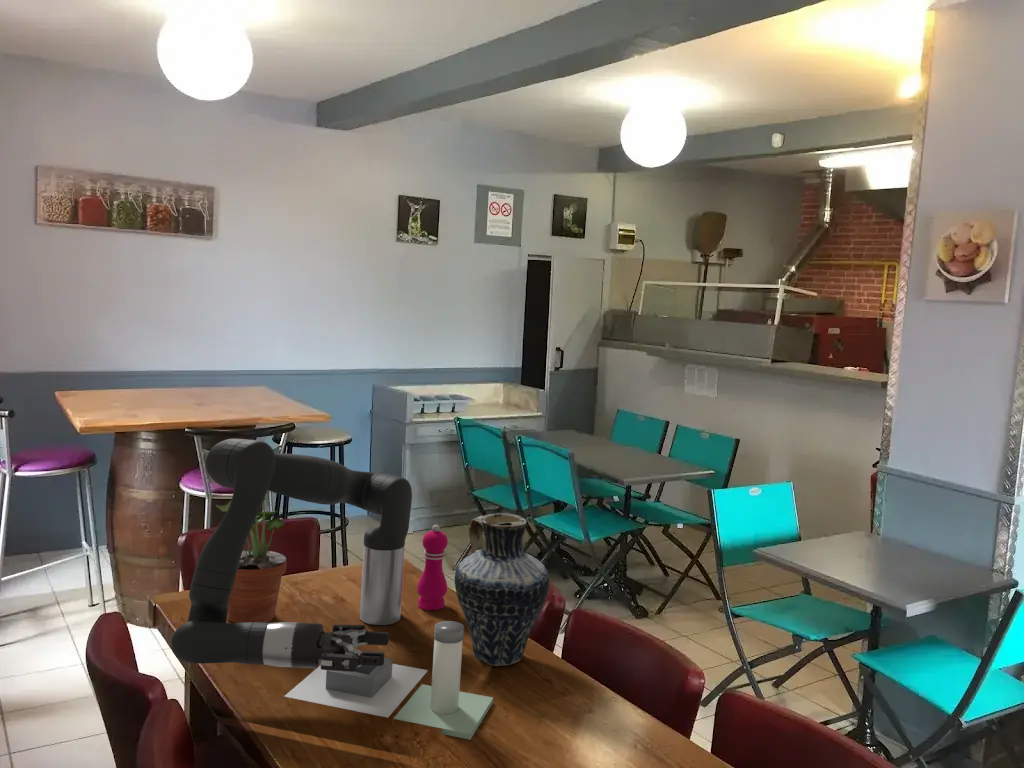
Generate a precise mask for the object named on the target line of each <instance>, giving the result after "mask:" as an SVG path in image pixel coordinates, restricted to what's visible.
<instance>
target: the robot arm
mask: <svg viewBox="0 0 1024 768" xmlns="http://www.w3.org/2000/svg"><path fill="white" fill-rule="evenodd" d="M205 467H206V468H205V469H206V471H207V474H208V475H209V477H210V478H211V479H212V481H214V482H215V483H216V484H217V485H219V486H221V487H224V488H227V489H232V490H233V494H232V497H231V500H230V501H231V503H230V506H229V509H228V511H226V513H225V515H224V516H223V518H222V520H221V521H220V522H219V524H218V526H217V527H216V528H215V530H214V531H213V533H211V535H210V537H209V538H208V539H207V541H206V543H205V544H204V545H203V547H202V550H201V551H200V554H199V556H198V558H197V562H196V565H195V568H194V571H193V575H192V579H191V584H190V587H189V595H188V597H189V598H188V599H189V600H190V609H189V613H188V618H187V621H186V622H184V623H182V624H181V625H180V626H178V628H177V629H175V631H174V633H173V634H172V636H171V640H170V647H171V650H172V654H173V655H174V656H175V657H176V658H177V659H178V660H180V661H182V662H184V663H187V664H220V663H221V664H223V663H224V664H225V663H234V664H236V663H237V664H243V665H266V666H271V667H272V666H273V667H278V668H301V669H317V668H318V667H319V666H320V665H321V669H322V670H333V671H348V672H354V671H356V667H361V665H373V666H382V665H383V664H384V658H385V652H384V651H374V650H373V651H371V650H363V651H361V650H359V649H357V648H358V647H359V646H364V645H369V646H371V645H372V646H373V645H374V646H387V645H388V644H389V638H390V634H389V632H386V631H369V630H368V629H367V628H366V625H364V624H333V625H332V629H331V632H325V631H324V626H323V624H322V623H316V622H313V623H312V622H293V621H291V622H290V621H279V622H267V623H261V622H244V623H233V622H231V623H229V622H227V619H228V602H229V598H230V595H231V592H232V588H233V584H234V581H235V577H236V573H237V569H238V565H239V561H240V558H241V554H242V551H244V548H245V545H246V543H247V538H248V537H249V535H250V531H251V528H252V529H253V524H254V521H255V519H256V517H257V516H258V515H259V514H258V512H260V509H261V508H262V505H263V503H262V502H264V501H265V500H264V498H265V495H266V496H267V493H268V492H267V491H269V492H272V493H275V494H278V495H281V496H284V497H287V498H291V499H295V500H300V501H303V502H307V503H313V504H317V505H325V506H327V505H329V506H330V505H338V504H347V505H349V506H353V507H356V508H360V509H362V510H364V511H367V512H370V513H372V514H376V515H380V516H381V517H380V524H379V526H376V527H371V528H369V529H368V530H366V531H365V532H364V534H363V535H364V536H363V546H362V547H363V550H362V567H361V568H362V569H361V589H360V604H359V606H360V607H359V620H361V621H362V622H364V623H366V624H368V625H374V626H387V625H393V624H395V623H398V622H399V621H400V620H401V615H402V614H401V613H402V601H403V600H402V597H403V595H402V594H403V582H404V564H405V548H406V546H405V544H406V538H407V537H408V532H409V528H410V520H411V512H412V511H411V510H412V501H413V490H412V486H411V484H410V482H409V480H408V479H406V478H404V477H402V476H397V475H393V474H388V473H383V472H376V471H359V470H352V469H349V468H348V467H347V466H345V465H344V464H341V463H339V462H336V461H333V460H331V459H328V458H323V457H319V456H313V455H306V454H296V453H295V454H294V453H282V452H281V453H279V452H275V451H274V449H273V447H272V446H270V445H269V443H267V442H265V441H263V440H258V439H257V440H256V439H248V438H247V439H245V438H228V439H224V440H222V441H220V442H217V443H216V444H214V445H213V447H211V448H210V450H209V451H208V453H207V455H206V459H205ZM263 500H264V501H263ZM344 665H345V666H344ZM347 665H349V666H347Z"/></svg>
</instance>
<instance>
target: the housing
mask: <svg viewBox="0 0 1024 768" xmlns="http://www.w3.org/2000/svg"><path fill="white" fill-rule="evenodd" d="M393 660H394V659H393V658H388V657H384V664H383V665H382V666H373V665H361V667H356V671H354V672H348V671H333V670H322V669H321V664H319V666H318V667H317V668H314V670H313V671H312V672H311V673H310V674H309V675H307V676H306V677H305V678H304V679H302V681H300V682H299V683H298V684H297V685H295V686H294V687H293V688H292V689H290V691H289V692H287V694H285V695H284V696H283V697H284V698H287V699H288V698H289V699H292V700H293V699H294V700H299V701H303V702H304V701H305V702H308V703H314V704H319V705H323V706H328V707H333V708H337V709H342V710H343V709H344V710H348V711H353V712H359V713H362V714H369V715H372V716H379V717H385V718H390V716H391V715H392V713H394V712H395V710H396V709H398V707H399V706H400V704H401V703H402V702H403V701H404V699H405V698H406V697H407V696H408V695H409V694H410V692H411V691H412V690H413V689H414V688H415V687H416V685H418V683H419V682H420V681H421V679H422V678H423V677H424V676H425V675H426V673H428V671H429V670H428V669H423V668H417V667H413V666H409V665H408V666H407V665H401V664H397V663H393ZM344 666H345V665H344ZM347 666H349V665H347Z"/></svg>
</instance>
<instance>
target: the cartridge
mask: <svg viewBox="0 0 1024 768" xmlns="http://www.w3.org/2000/svg"><path fill="white" fill-rule="evenodd" d="M433 633H434V634H433V638H434V640H433V642H434V643H433V655H432V657H433V658H432V673H431V674H432V675H431V686H432V689H431V706H430V708H431V710H432V711H433V712H435V713H438V714H444V715H446V714H452V713H455V712H456V711H457V710H458V706H459V691H460V688H461V675H462V672H461V671H462V658H463V657H462V655H463V643H464V642H463V641H464V636H465V635H464V633H465V626H464V624H462V623H461V622H459V621H452V620H443V621H439V622H436V624H435V623H434V632H433Z"/></svg>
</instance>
